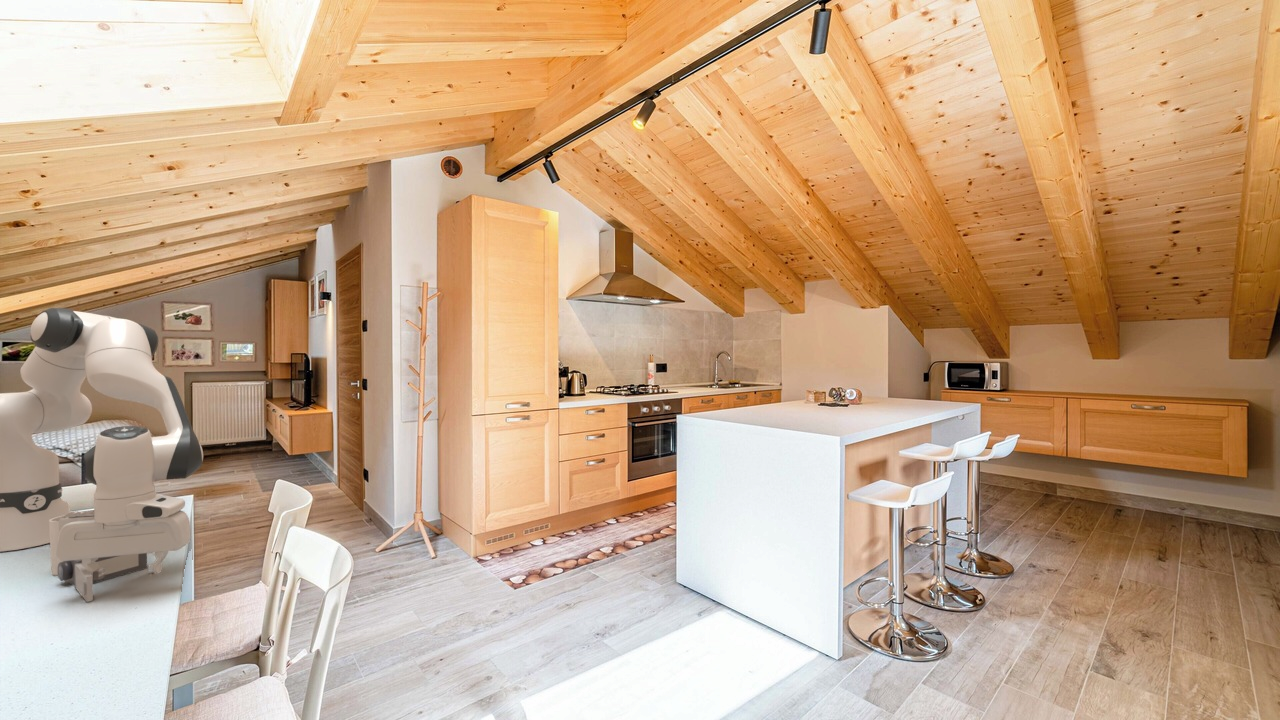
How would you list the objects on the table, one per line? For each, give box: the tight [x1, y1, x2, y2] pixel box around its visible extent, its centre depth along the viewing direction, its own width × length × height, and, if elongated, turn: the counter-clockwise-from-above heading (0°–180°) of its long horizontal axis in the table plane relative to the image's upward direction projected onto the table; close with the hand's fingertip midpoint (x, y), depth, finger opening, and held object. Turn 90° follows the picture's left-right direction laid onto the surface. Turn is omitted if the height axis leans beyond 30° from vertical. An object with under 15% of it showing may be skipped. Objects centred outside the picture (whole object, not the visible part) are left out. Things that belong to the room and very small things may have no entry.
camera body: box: [58, 553, 148, 587], centre depth 113 cm, size 8×12×6 cm, turn 153°
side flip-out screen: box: [74, 563, 94, 603], centre depth 103 cm, size 1×12×5 cm, turn 56°
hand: (126, 575), depth 104 cm, fingers open, 8 cm apart
